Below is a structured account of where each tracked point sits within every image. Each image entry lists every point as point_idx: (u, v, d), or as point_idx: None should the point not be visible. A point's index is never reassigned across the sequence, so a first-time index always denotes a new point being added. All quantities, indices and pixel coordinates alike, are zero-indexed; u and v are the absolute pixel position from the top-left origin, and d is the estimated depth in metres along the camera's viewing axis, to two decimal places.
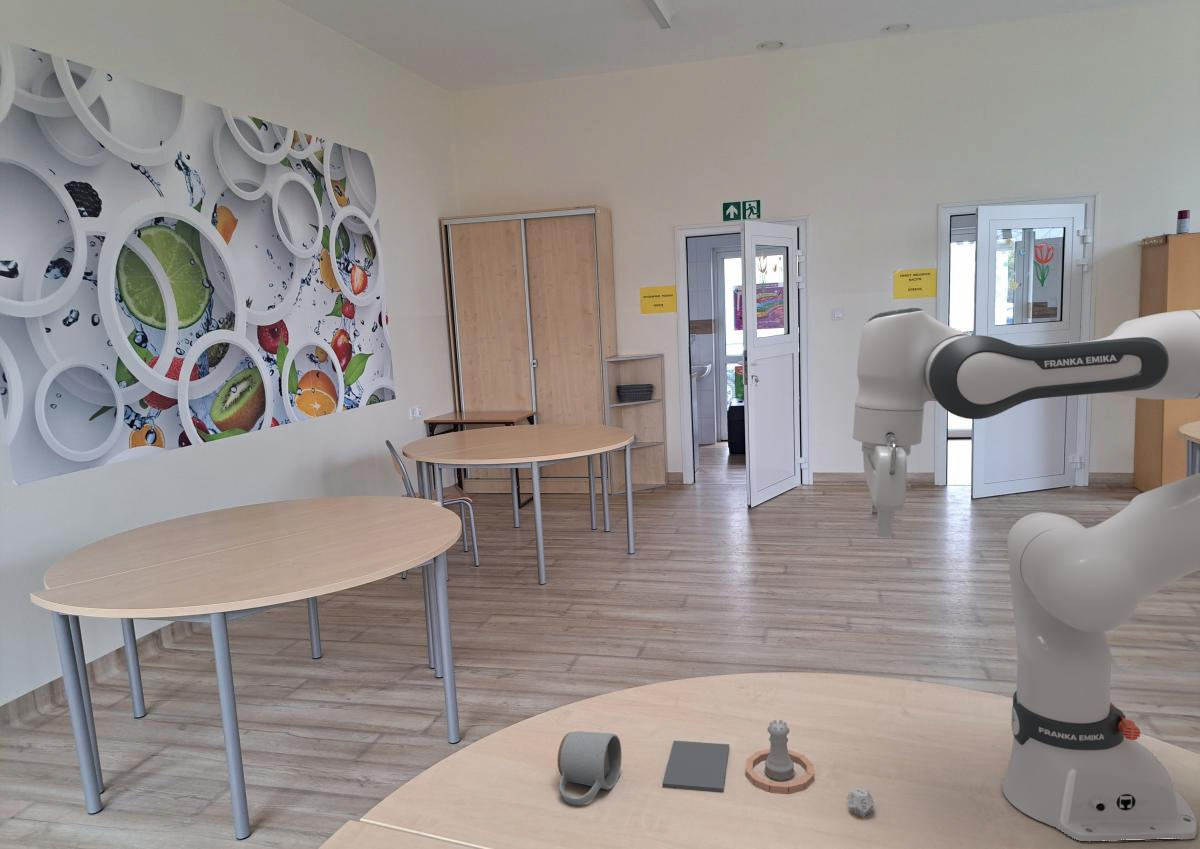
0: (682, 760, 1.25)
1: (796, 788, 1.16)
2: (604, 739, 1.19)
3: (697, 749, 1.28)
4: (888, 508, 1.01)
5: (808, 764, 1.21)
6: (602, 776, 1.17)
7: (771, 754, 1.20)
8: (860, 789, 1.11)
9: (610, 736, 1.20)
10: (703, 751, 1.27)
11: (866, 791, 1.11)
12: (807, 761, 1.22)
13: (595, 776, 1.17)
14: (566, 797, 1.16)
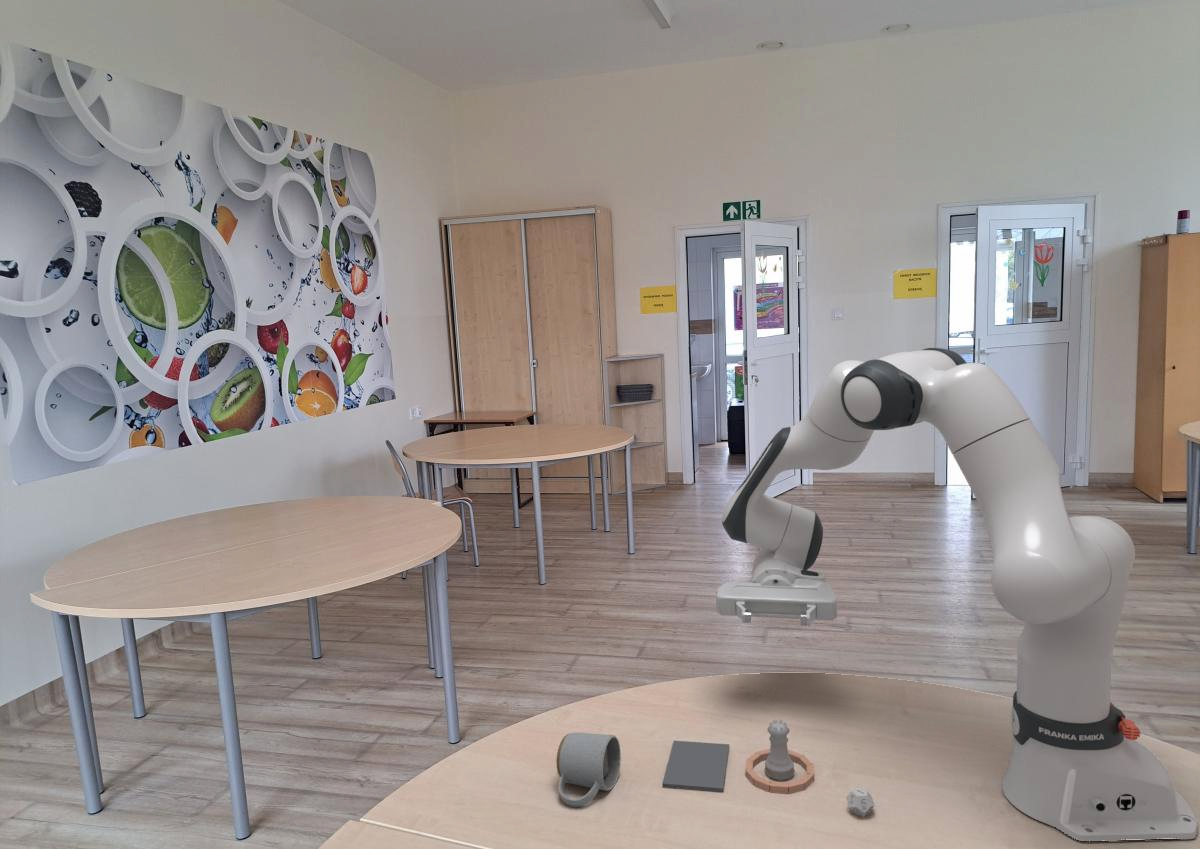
0: (682, 760, 1.25)
1: (796, 788, 1.16)
2: (603, 740, 1.19)
3: (697, 749, 1.28)
4: (718, 606, 1.38)
5: (808, 764, 1.21)
6: (601, 777, 1.16)
7: (771, 754, 1.20)
8: (860, 789, 1.11)
9: (609, 737, 1.20)
10: (703, 751, 1.27)
11: (866, 791, 1.11)
12: (807, 761, 1.22)
13: (594, 777, 1.17)
14: (565, 799, 1.16)
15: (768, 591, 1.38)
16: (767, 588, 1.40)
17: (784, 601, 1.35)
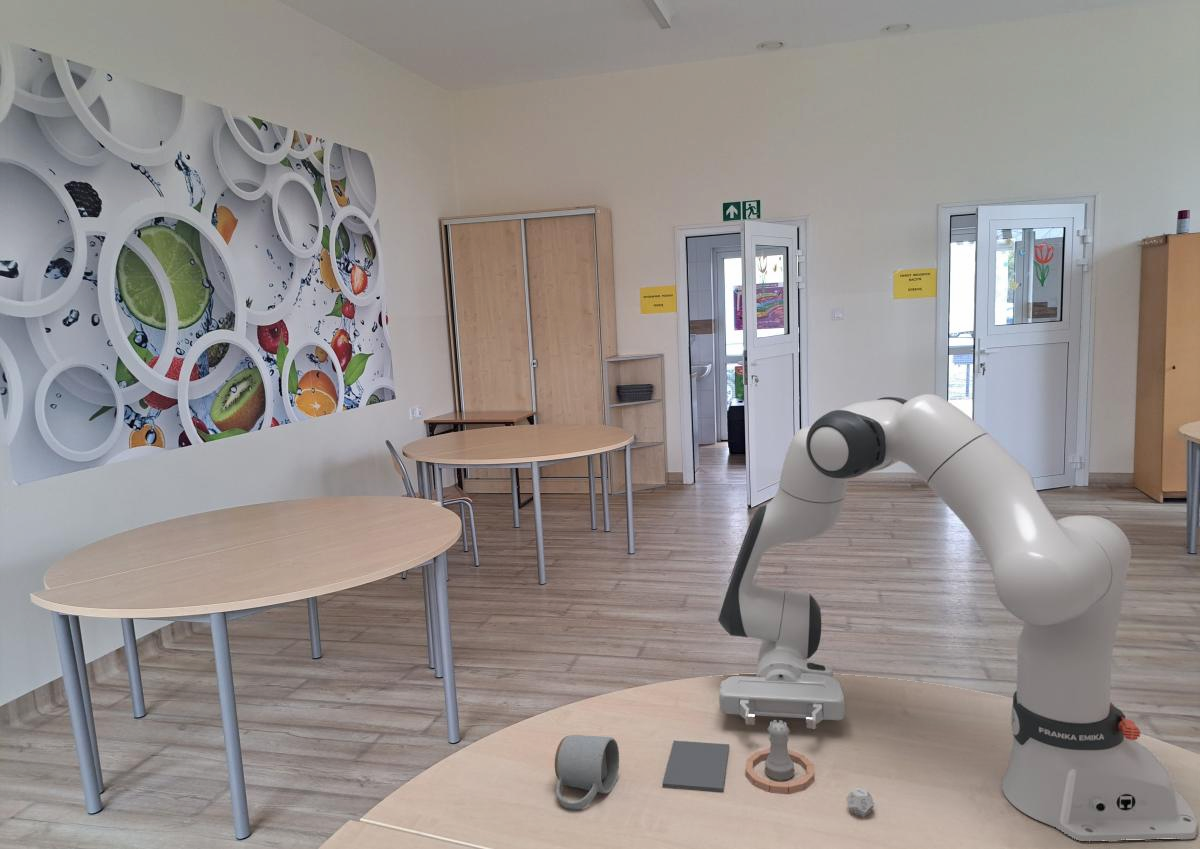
0: (682, 760, 1.25)
1: (796, 788, 1.16)
2: (601, 743, 1.18)
3: (697, 749, 1.28)
4: (721, 704, 1.33)
5: (808, 764, 1.21)
6: (600, 780, 1.16)
7: (771, 754, 1.20)
8: (860, 789, 1.11)
9: (607, 740, 1.19)
10: (703, 751, 1.27)
11: (866, 791, 1.11)
12: (807, 761, 1.22)
13: (592, 780, 1.16)
14: (563, 801, 1.15)
15: (773, 688, 1.34)
16: (772, 684, 1.36)
17: (789, 700, 1.30)
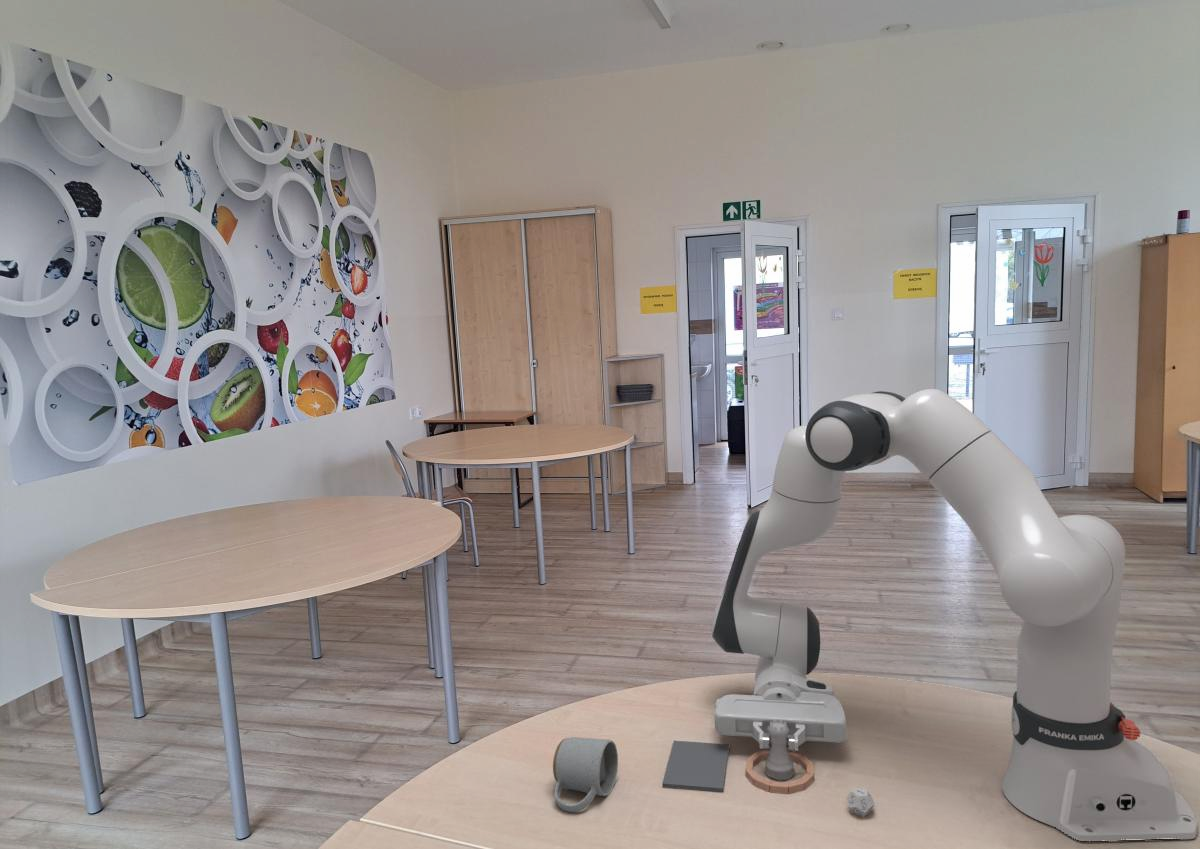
0: (682, 760, 1.25)
1: (796, 788, 1.16)
2: (600, 745, 1.18)
3: (697, 749, 1.28)
4: (716, 725, 1.27)
5: (808, 764, 1.21)
6: (598, 782, 1.15)
7: (771, 754, 1.20)
8: (860, 789, 1.11)
9: (606, 742, 1.19)
10: (703, 751, 1.27)
11: (866, 791, 1.11)
12: (807, 761, 1.22)
13: (591, 783, 1.16)
14: (561, 804, 1.15)
15: (771, 708, 1.27)
16: (770, 703, 1.29)
17: (788, 721, 1.23)
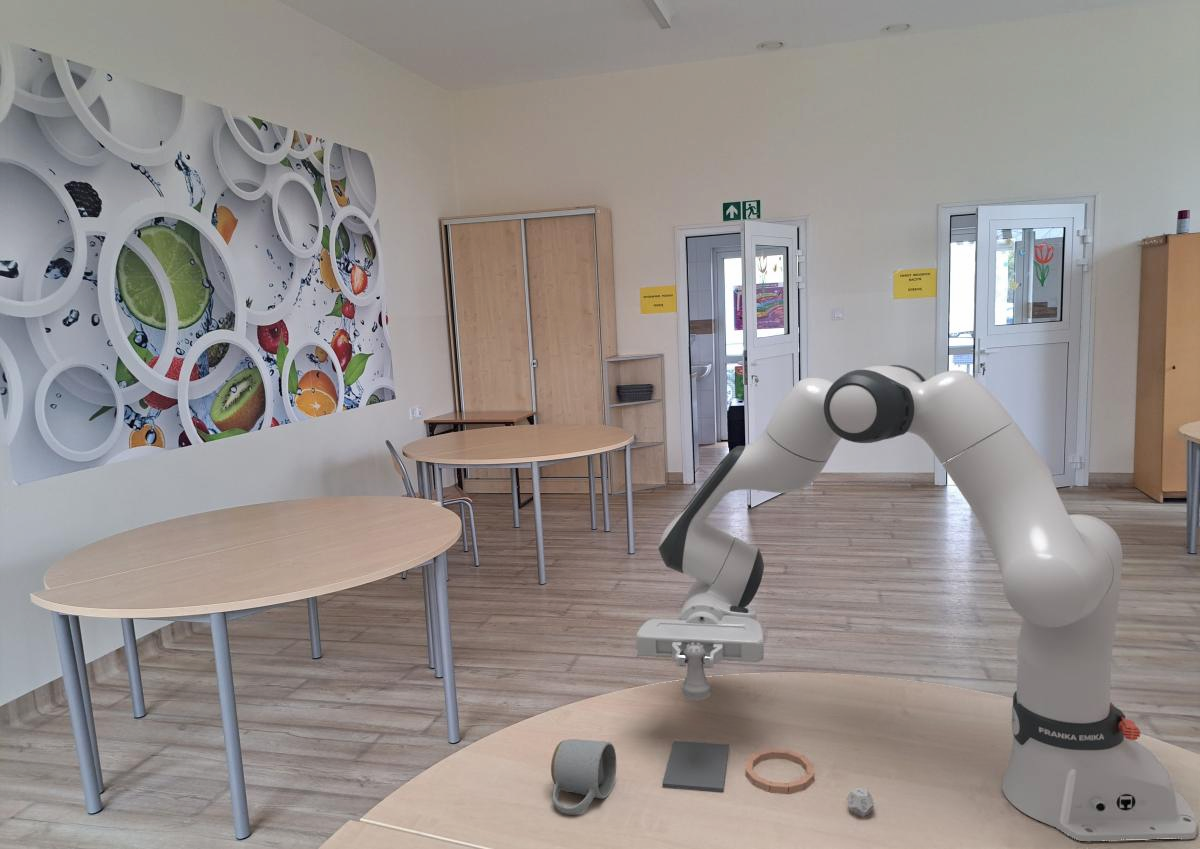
0: (682, 760, 1.25)
1: (796, 788, 1.16)
2: (598, 747, 1.17)
3: (697, 749, 1.28)
4: (638, 646, 1.28)
5: (808, 764, 1.21)
6: (596, 785, 1.15)
7: (687, 675, 1.22)
8: (860, 789, 1.11)
9: (604, 744, 1.18)
10: (703, 751, 1.27)
11: (866, 791, 1.11)
12: (807, 761, 1.22)
13: (589, 785, 1.15)
14: (559, 806, 1.14)
15: (692, 630, 1.28)
16: (692, 626, 1.30)
17: (707, 641, 1.25)
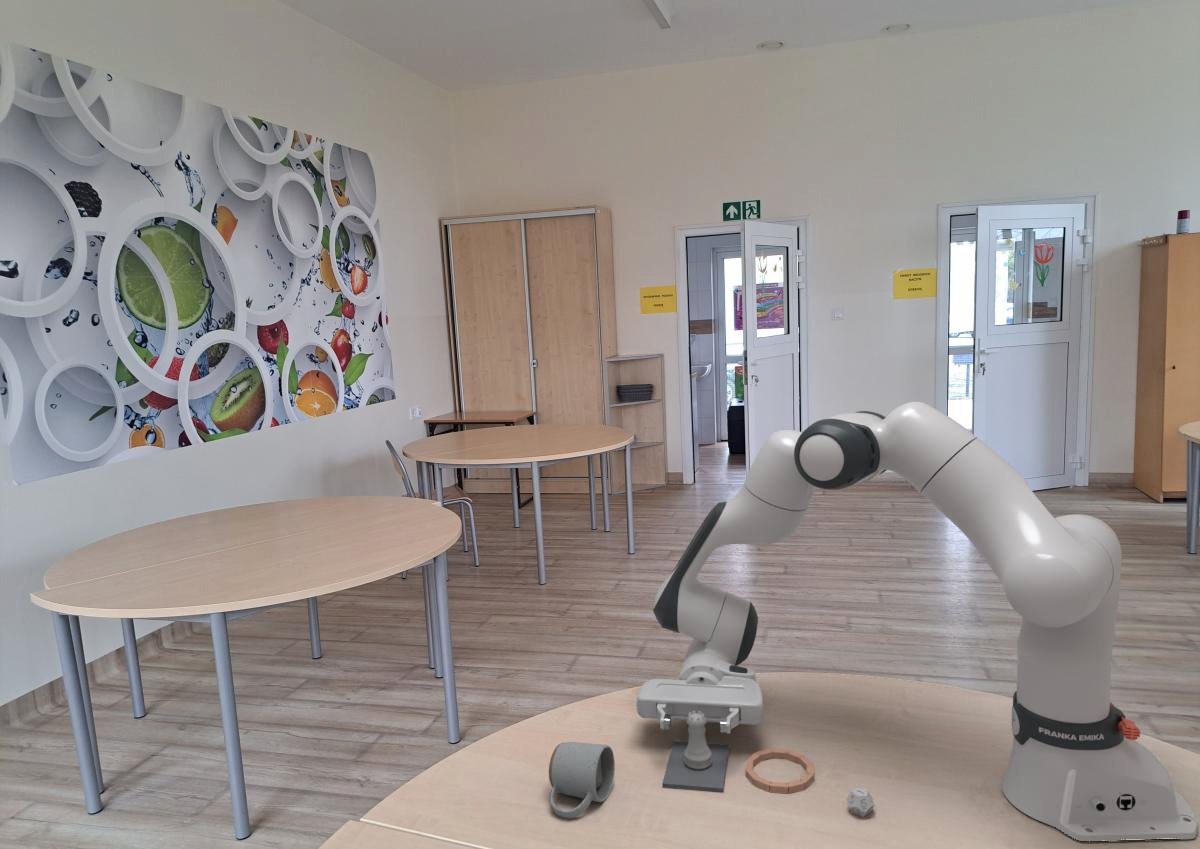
0: (682, 760, 1.25)
1: (796, 788, 1.16)
2: (596, 750, 1.16)
3: None
4: (638, 708, 1.29)
5: (808, 764, 1.21)
6: (594, 788, 1.14)
7: (689, 744, 1.23)
8: (860, 789, 1.11)
9: (602, 747, 1.17)
10: None
11: (866, 791, 1.11)
12: (807, 761, 1.22)
13: (587, 788, 1.14)
14: (557, 810, 1.13)
15: (692, 691, 1.30)
16: (692, 687, 1.32)
17: (706, 704, 1.26)
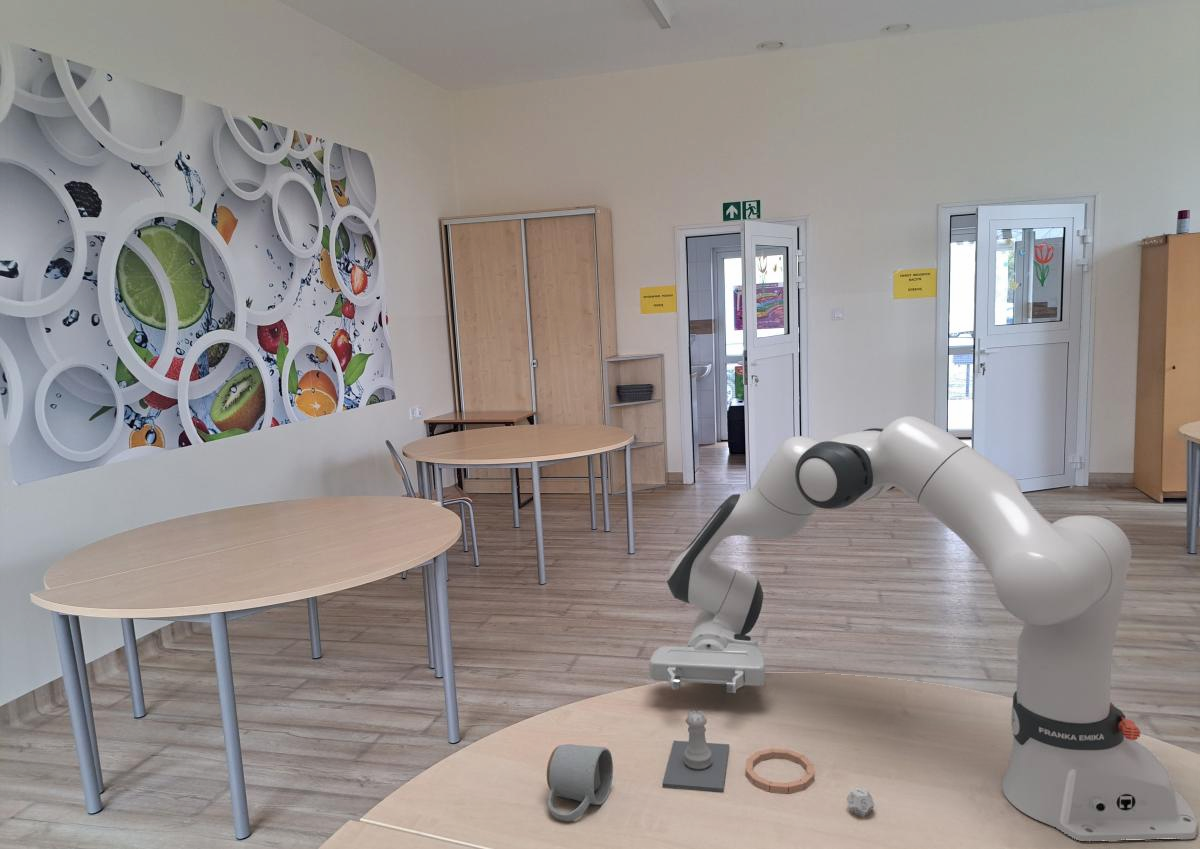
0: (682, 760, 1.25)
1: (796, 788, 1.16)
2: (594, 753, 1.16)
3: None
4: (651, 671, 1.41)
5: (808, 764, 1.21)
6: (592, 791, 1.13)
7: (689, 744, 1.23)
8: (860, 789, 1.11)
9: (601, 750, 1.17)
10: None
11: (866, 791, 1.11)
12: (807, 761, 1.22)
13: (585, 791, 1.14)
14: (554, 813, 1.13)
15: (700, 656, 1.42)
16: (700, 653, 1.44)
17: (713, 667, 1.38)
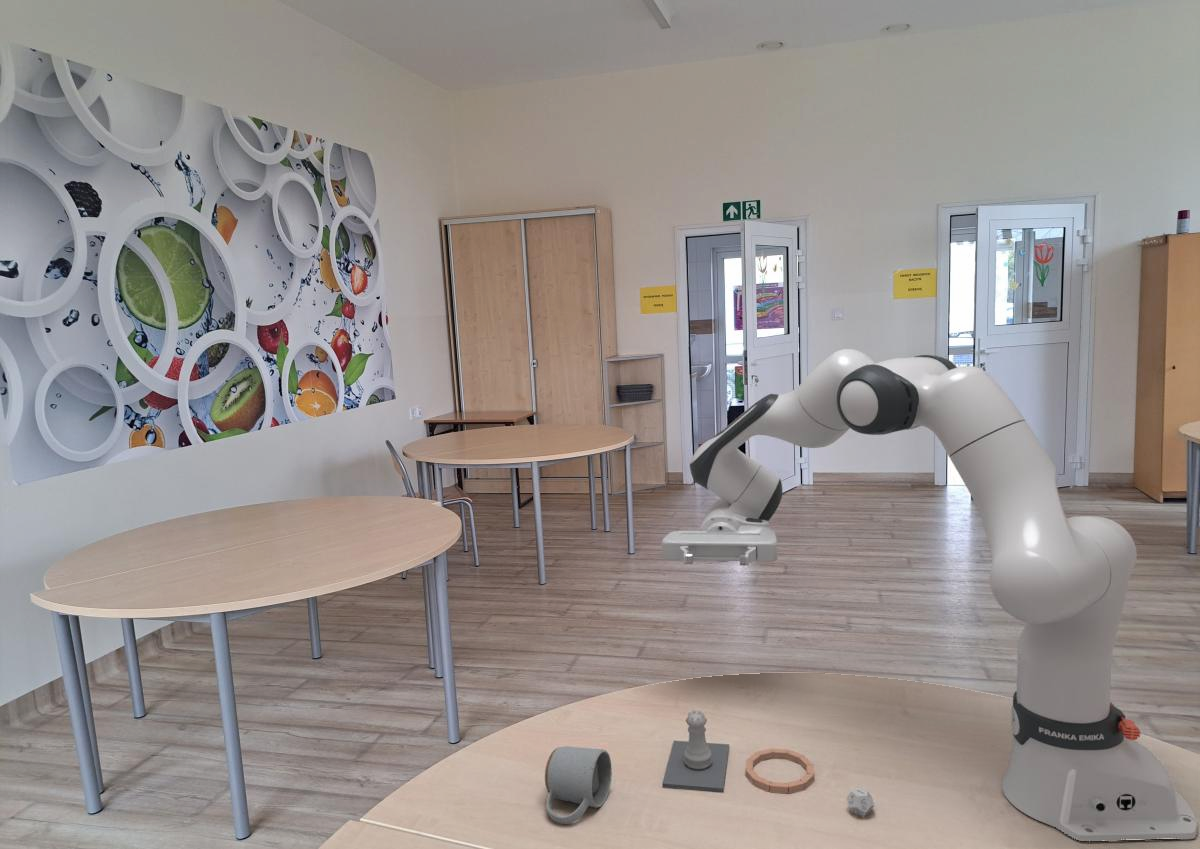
0: (682, 760, 1.25)
1: (796, 788, 1.16)
2: (593, 755, 1.15)
3: None
4: (663, 551, 1.42)
5: (808, 764, 1.21)
6: (590, 794, 1.13)
7: (689, 744, 1.23)
8: (860, 789, 1.11)
9: (599, 752, 1.16)
10: None
11: (866, 791, 1.11)
12: (807, 761, 1.22)
13: (583, 794, 1.13)
14: (553, 815, 1.12)
15: (712, 536, 1.42)
16: (712, 534, 1.44)
17: (726, 544, 1.39)
